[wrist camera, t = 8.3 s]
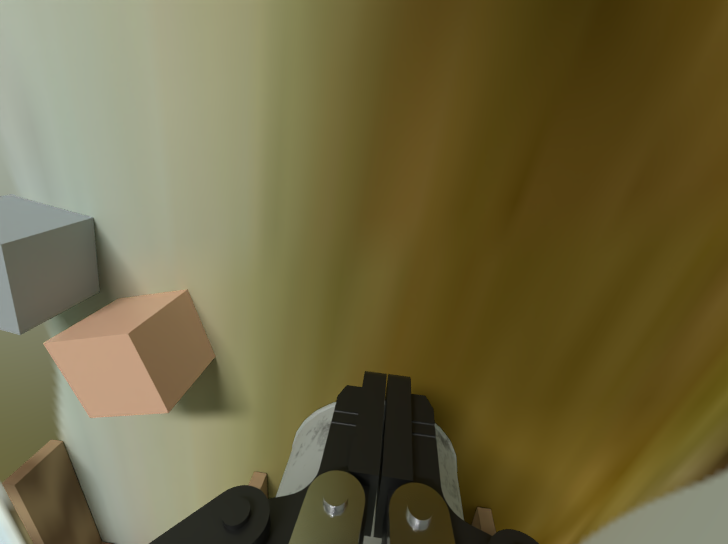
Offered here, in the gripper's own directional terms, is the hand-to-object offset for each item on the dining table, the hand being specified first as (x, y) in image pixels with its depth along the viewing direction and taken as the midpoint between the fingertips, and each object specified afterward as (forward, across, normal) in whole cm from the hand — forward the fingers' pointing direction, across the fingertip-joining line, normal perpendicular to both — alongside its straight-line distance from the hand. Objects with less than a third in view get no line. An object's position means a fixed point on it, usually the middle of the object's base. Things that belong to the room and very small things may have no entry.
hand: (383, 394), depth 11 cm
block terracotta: (+5, +11, +2) cm, 13 cm away
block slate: (+5, +16, -2) cm, 17 cm away
